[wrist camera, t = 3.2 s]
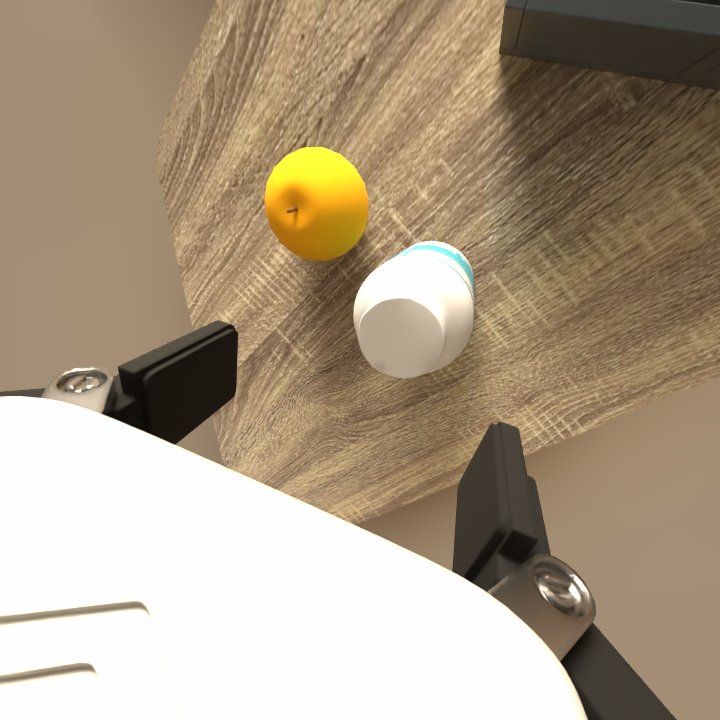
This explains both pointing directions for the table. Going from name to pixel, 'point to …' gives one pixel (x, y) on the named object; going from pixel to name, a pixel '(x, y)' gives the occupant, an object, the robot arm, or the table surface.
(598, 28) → the divided storage tray
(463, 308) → the pill bottle
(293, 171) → the apple
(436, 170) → the table surface
